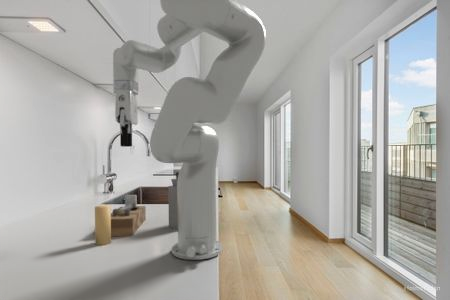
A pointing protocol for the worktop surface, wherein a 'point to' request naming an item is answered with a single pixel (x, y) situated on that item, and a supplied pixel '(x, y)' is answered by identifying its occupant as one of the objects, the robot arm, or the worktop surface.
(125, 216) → the socket block
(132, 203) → the lock pin
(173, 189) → the perfume bottle
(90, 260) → the worktop surface
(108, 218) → the peg
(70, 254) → the worktop surface
